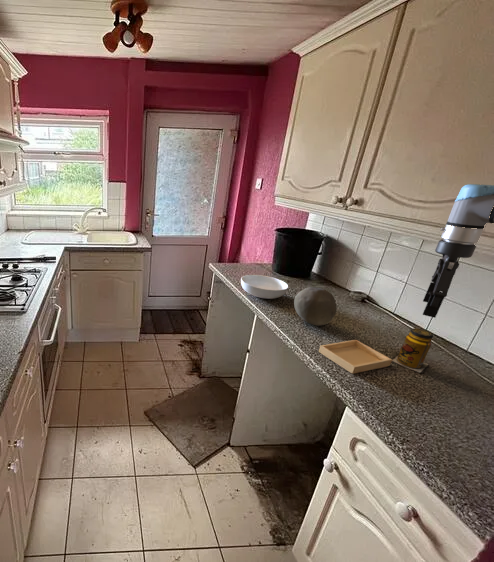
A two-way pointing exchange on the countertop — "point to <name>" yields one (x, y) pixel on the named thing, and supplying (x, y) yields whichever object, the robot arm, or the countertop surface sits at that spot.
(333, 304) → the grey round rock
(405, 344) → the condiment
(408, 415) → the countertop surface
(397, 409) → the countertop surface
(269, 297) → the serving bowl
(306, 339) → the countertop surface
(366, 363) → the tray
